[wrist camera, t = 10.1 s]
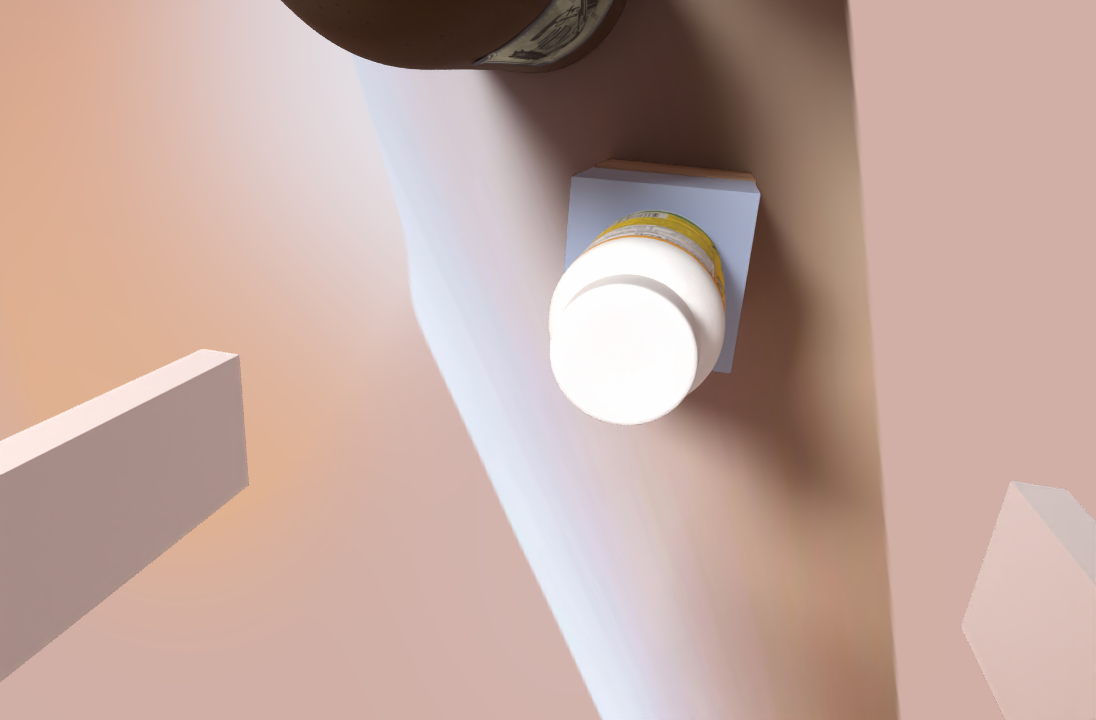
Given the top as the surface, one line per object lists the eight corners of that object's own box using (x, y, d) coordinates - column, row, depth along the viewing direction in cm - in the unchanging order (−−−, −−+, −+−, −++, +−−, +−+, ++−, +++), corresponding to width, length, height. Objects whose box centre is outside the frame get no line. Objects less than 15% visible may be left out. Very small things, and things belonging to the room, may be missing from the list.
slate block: (592, 167, 32) (571, 176, 27) (753, 181, 31) (760, 193, 26) (579, 318, 34) (557, 350, 30) (728, 337, 33) (730, 373, 28)
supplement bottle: (635, 180, 27) (594, 213, 18) (754, 260, 27) (772, 333, 18) (560, 295, 29) (489, 376, 20) (670, 369, 29) (649, 484, 20)
